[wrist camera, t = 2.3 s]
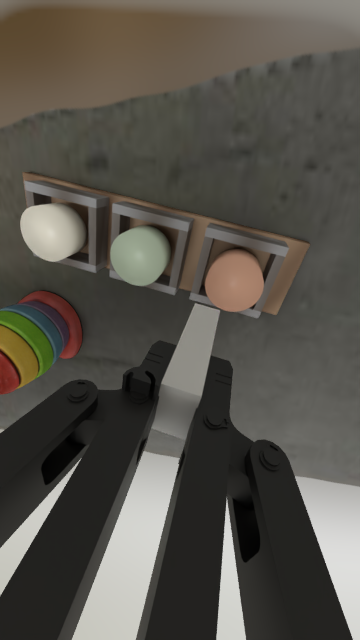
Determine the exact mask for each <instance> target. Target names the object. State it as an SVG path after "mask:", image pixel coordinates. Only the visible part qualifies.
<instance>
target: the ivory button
mask: <svg viewBox="0 0 360 640" xmlns="http://www.w3.org/2000/svg"><path fill="white" fill-rule="evenodd" d="M20 226H21V232H22V236H23V238H24V240H25V242H26V244H27V245H28V247H29V248H30V249H31V250H32V251H33V252H34V253H35V254H36V255H37V256H39V257H40V258H42V259H44V260H47V261H52V262H55V261H60V260H62V259H64V258H66V257H68V256H71V255H73V254H75V253H77V252H79V251H81V250H82V249H83V247H84V246H85V244H86V241H87V230H86V226H85V223H84V221H83V219H82V218H81V216H80V215H79V214H78V212H77V211H76V210H75V209H73V208H72V207H71V206H69V205H67V204H64V203H51V204H44V205H37V206H31V207H29V208H27V209H26V210H25V211H24V212H23V214H22V217H21V221H20Z"/></svg>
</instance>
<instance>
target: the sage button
mask: <svg viewBox="0 0 360 640" xmlns="http://www.w3.org/2000/svg"><path fill="white" fill-rule="evenodd" d="M110 257H111V262H112V265H113V268H114V269H115V271H116V273H117V274H118V275H119V276H120V277H121V278H122V279H123V280H125V281H126V282H128V283H130V284H133V285H137V286H145V285H149V284H151V283H153V282H154V281H155V280H156V279H157V278H158V277H159V276H160V275H161V274H162V272H163V271H164V270H165V269H166V267H167V266H168V264H169V262H170V259H171V247H170V244H169V241H168V239H167V238H166V236H165V235H164V234H163V233H162V232H161V231H160V230H158V229H157V228H155V227H153V226H149V225H140V226H137V227H134V228H132V229H130V230H128V231H126V232H124V233H122V234H120V235H119V236H118V237H117V238H116V239H115V240H114V242H113V244H112V246H111V251H110Z"/></svg>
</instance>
